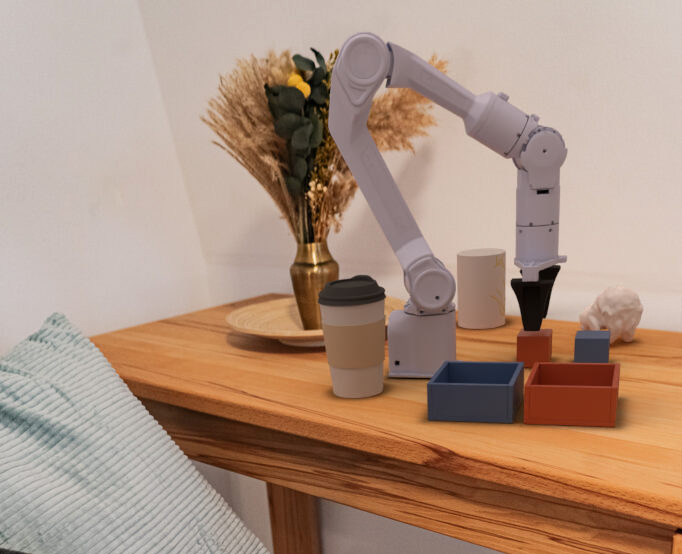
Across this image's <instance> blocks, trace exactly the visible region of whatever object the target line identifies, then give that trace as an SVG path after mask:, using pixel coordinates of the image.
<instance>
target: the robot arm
mask: <svg viewBox="0 0 682 554" xmlns="http://www.w3.org/2000/svg"><path fill="white" fill-rule="evenodd" d="M385 80H386V82H385V89H409V90H411V91H413V92H414V93H416V94H419V95H420V96H421V97H424V98H425V99H427V100H429V101H431V102H432V103H434V104H436V105H437V106H439V107H441V108H443V109H445V110H446V111H448V112H450V113H452V114H454V115H455V116H457V117H459V118H460V119H462V122H463V124H464V130H465V134H466V136H468V137H470V138H471V139H473V140H475V141H477V142H478V143H479V144H481V145H483V146H485V148H488V149H489V150H491V151H493V152H494V153H496V154H498V155H499V156H500V157H503V159H506V160H509V159H511V161H512V163H513V165H514V166H515V168H516V189H515V256H514V258H513V265H514V266H515V267H517V268H518V269H520V270H519V273H520V275H521V277H516V278H515V277H512V278H511V279H510V281H509V282H510V284H509V285H510V287H511V289H512V291H513V293H514V295H515V298H516V300H517V304H518V308H519V313H520V318H521V323H522V324H521V325H522V329H524V331H540V329H542V324H543V320H544V319H547V316H548V312H549V307H550V303H551V297H552V292H553V288H554V285H555V282H556V279H557V277H558V275H559V273H560V271H561V269H562V268H561V267H562V265H560V264H565V263H567V261H568V255H559V243H560V242H559V240H560V210H561V185H560V183H561V167H563V165H564V163H565V161H566V159H567V157H568V152H569V151H568V148H567V147H566V143H565V139H563V135H562V134H561V133H560V132H559V131H558V130H557V129H556V128H554V127H550V126H543V125H541V124H539V121H540V119H541V118H540V116H539V115H537V114H536V113H531V114H530V115H529V114H528V113H527V112H524V111H523V110H521V109H520V108H518V107H517V106H515V105H514V104H512V103H510V102H509V99H510V96H509V95H508V94H507V93H504V92H503V91H499V92H498V93H497V94H496V93H494V92H493V91H492V90H491V91H485V92H483V93H480V94H477V95H476V94H475V93H473V92H472V91H470V90H469V89H468V88H466V87H465V86H463V85H462V84H460V83H459V82H457V81H456V80H454V79H452V77H450V76H448V75H447V74H445V73H444V72H442V70H439V69H438V68H437V67H435V66H434V65H432V64H431V63H430V62H427V60H426V59H424V58H423V57H421V56H419V55H418V54H416V53H414V52H412V51H410V50H408V49H406V48H405V47H403V46H401V45H398V44H397V43H394V42H392V41H386V42H385V41H384V40H383V39H382V37H380V36H379V35H378V34H376V33H374V32H371V31H366V30H365V31H363V30H362V31H358V32H354V33H353V34H351V35H350V36H348V37H347V38H346V39H345V40H344V41H343V43H342V45H341V46H340V49H339V51H338V54H337V57H336V60H335V62H334V65H333V67H332V69H331V75H330V91H329V92H330V93H329V106H328V121H327V125H328V126H327V128H328V131H329V134H330V135H331V138H332V139H333V141H334V143H335V146H336V147H337V149H338V151H339V153H340V154H341V156H342V158H343V160H344V162H345V163H346V166H347V167H348V170H349V171H350V173H351V175H352V176H353V177H352V178H353V179H354V180H355V182H356V184H357V186H358V188H359V190H360V192H361V193H362V195H363V197H364V200H365V201H366V202H367V205H368V207H369V208H370V210H371V212H372V215H373V216H374V218H375V220H376V222H377V224H378V226H379V227H380V229H381V231H382V233H383V235H384V237H385V239H386V241H387V242H388V244H389V246H390V247H391V249H392V251H393V253H394V255H395V258H396V259H397V261H398V262H399V265H400V267H401V270H402V272H403V273H402V274H403V284H404V288H405V290H406V292H407V293H408V295H409V298H408V300H407V301H406V303H405V304H404V305H403V309H394V310H392V311H390V314H389V316H388V320H387V330H386V331H387V334H386V335H387V336H386V337H387V354H388V355H387V356H388V371H389V372H388V373H387V377H389V378H407V379H409V378H411V379H412V378H413V379H415V378H416V379H431V378H432V377H433V376H434V374H435V373H436V372H437V370H438V369H439V368H440V367H441V365H442V364H443V363H444V362H445V361H463V360H462V359H457V322H456V321H457V316H456V311H457V310H456V303H455V302H453V300H454V298H455V296H456V293H457V292H456V291H457V281H456V280H455V276H454V275H453V274H452V271H450V270H449V269H448V268H446V266H445V264H444V263H443V261H442V260H440V259H439V258H437V257H436V256H435V254H434V252H433V250H432V249H431V247H430V246H429V244H428V242H427V240H426V239H425V237H424V235H423V233H422V231H421V229H420V227H419V225H418V223H417V221H416V219H415V217H414V215H413V214H412V211H411V209H410V208H409V206H408V204H407V202H406V200H405V198H404V196H403V194H402V192H401V190H400V188H399V186H398V184H397V182H396V180H395V178H394V177H393V175H392V173H391V171H390V169H389V167H388V165H387V163H386V161H385V159H384V158H383V155H382V153H381V151H380V150H379V148H378V146H377V144H376V142H375V140H374V138H373V136H372V135H371V132H370V131H369V128H368V126H367V125H368V124H367V123H368V120H369V115H370V114H371V113H370V112H371V108H372V106H373V102H374V101H373V100H374V97H375V96H376V93H378V91H379V89H380V88H381V86H382V85H383V83H384V81H385Z"/></svg>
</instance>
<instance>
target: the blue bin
mask: <svg viewBox="0 0 682 554" xmlns="http://www.w3.org/2000/svg"><path fill="white" fill-rule="evenodd" d="M524 386H525V367H524V362H516V361H480V360H479V361H469V360H468V361H467V360H462V361H445V362H444V363H443V364H442V365H441V367H440V368H439V369H438V370H437V372H436V373H435V374H434V376H433V377H432V378H429V381H428V382H427V383H426V401H427V402H426V403H427V404H426V407H427V421H438V422H439V421H440V422H467V423H493V424H513V423H514V420H515V418H516V416H517V414H518V411H519V409H520V407H521V404H522V402H523V401H524Z"/></svg>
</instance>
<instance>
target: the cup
mask: <svg viewBox="0 0 682 554" xmlns="http://www.w3.org/2000/svg"><path fill="white" fill-rule="evenodd" d="M506 254H507V252H506V249H503V248H487V247H485V248H473V249H466V250H461V251H458V252H457V253H456V291H457V292H456V293H457V294H456V296H457V326H458V327H460V328H463V329H470V330H487V329H493V328H498V327H501V326H504V325H506V283H507V281H506V279H507V278H506V277H507V276H506V275H507V274H506V273H507V272H506V270H507V269H506V266H507V265H506V262H507V260H506V259H507V258H506V257H507V255H506Z"/></svg>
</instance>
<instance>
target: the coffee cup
mask: <svg viewBox="0 0 682 554" xmlns="http://www.w3.org/2000/svg"><path fill="white" fill-rule="evenodd" d="M317 295H318V299H317V304H319V309H320V316H321V321H320V324H321V329H322V335H323V341H324V347H325V354H326V360H327V364H328V366H329V371H330V378H331V386H332V391H333V394H334V396H337V397H338V398H339V397H340V398H344V399H362V398H369V397H373V396H377V395H379V394H381V393H382V392H383V391H384V367H385V366H384V365H385V364H384V363H385V359H386V324H387V323H386V322H387V321H386V319H387V318H386V317H387V316H386V314H385V310H386V309H385V308H386V307H385V304H386V303H385V302H386V298H387V295H386V289H385V287H383V286H380V285H379V284H378V282H377V280H376V279H374V278H373V277H372V276H371V275H368V274H356V275H354V276H352V277H349V278H342V279H336V280H335V279H334V280H331V281H328V282H326V283H325V284H324V287H323V289H322V290H321V291H319V292H318V294H317Z"/></svg>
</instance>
